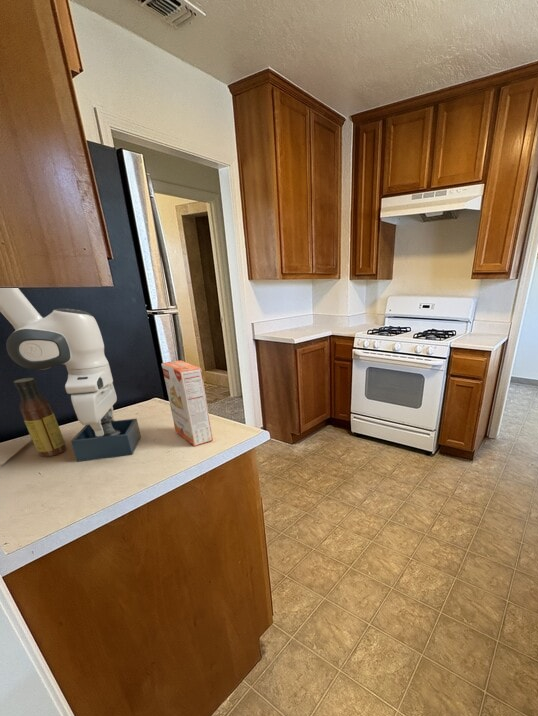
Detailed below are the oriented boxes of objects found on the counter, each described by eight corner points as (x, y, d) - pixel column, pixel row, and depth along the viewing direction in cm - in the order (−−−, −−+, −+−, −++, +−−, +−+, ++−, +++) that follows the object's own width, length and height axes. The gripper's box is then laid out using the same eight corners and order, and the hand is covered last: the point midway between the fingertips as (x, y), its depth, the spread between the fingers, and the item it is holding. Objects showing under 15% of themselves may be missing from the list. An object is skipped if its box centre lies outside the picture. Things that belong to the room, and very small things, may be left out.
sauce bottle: (64, 445, 97) (40, 374, 90) (69, 452, 93) (45, 378, 86) (35, 452, 93) (7, 379, 85) (39, 460, 89) (10, 384, 81)
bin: (77, 461, 88) (70, 441, 86) (92, 442, 99) (86, 423, 97) (132, 454, 91) (127, 435, 89) (141, 436, 102) (136, 418, 100)
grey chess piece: (116, 440, 99) (105, 399, 94) (127, 444, 96) (116, 402, 91) (94, 447, 94) (81, 404, 90) (105, 452, 91) (92, 409, 87)
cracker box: (174, 432, 105) (160, 362, 96) (194, 427, 108) (182, 359, 100) (192, 447, 95) (178, 370, 87) (213, 441, 98) (202, 366, 90)
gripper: (90, 369, 96) (103, 417, 101) (61, 388, 78) (79, 445, 83) (115, 367, 98) (127, 414, 103) (93, 386, 80) (109, 442, 85)
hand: (105, 428), depth 93 cm, fingers open, 8 cm apart
